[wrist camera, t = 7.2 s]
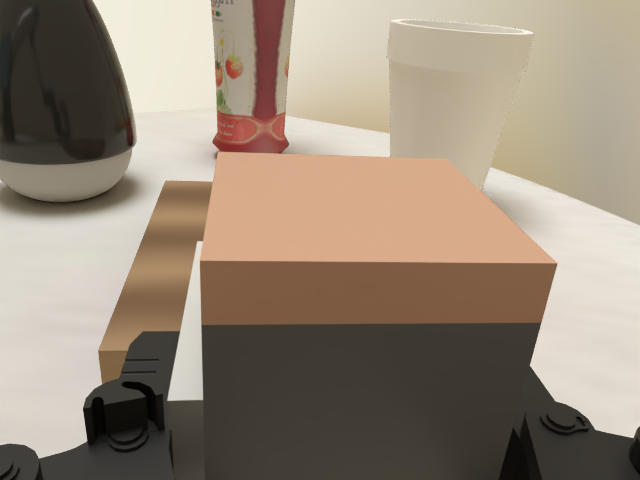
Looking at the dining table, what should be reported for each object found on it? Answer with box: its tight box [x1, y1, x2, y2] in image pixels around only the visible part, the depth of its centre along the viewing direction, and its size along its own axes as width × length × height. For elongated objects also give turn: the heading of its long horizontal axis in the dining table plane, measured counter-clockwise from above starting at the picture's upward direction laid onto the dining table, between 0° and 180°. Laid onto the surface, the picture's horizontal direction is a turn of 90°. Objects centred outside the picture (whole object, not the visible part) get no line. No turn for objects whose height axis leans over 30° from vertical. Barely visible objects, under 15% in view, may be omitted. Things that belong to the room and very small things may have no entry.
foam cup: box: [387, 19, 534, 191], centre depth 41 cm, size 10×9×13 cm
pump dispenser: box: [0, 0, 137, 202], centre depth 39 cm, size 10×10×15 cm
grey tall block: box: [200, 152, 557, 480], centre depth 13 cm, size 5×5×12 cm
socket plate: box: [98, 181, 213, 384], centre depth 30 cm, size 18×14×3 cm
